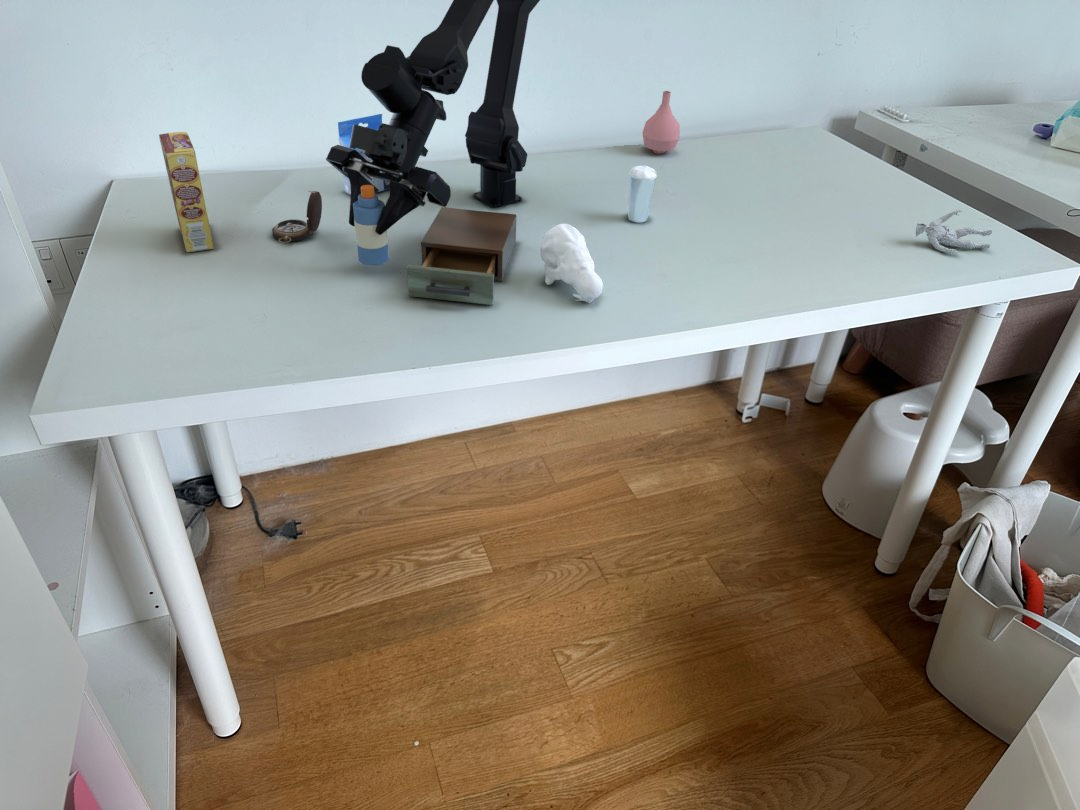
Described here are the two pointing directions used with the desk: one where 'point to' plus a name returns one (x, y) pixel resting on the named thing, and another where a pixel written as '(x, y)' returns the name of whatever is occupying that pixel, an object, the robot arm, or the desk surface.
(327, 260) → the desk surface
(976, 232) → the soldier figure
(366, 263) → the glue bottle
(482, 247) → the drawer unit
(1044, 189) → the desk surface
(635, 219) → the milkshake
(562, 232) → the white animal figurine
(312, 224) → the compass
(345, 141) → the label tape box
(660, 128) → the pink vase
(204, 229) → the candy box
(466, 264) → the drawer
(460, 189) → the desk surface
